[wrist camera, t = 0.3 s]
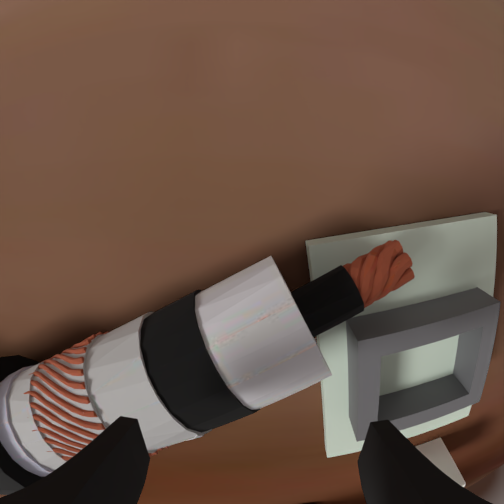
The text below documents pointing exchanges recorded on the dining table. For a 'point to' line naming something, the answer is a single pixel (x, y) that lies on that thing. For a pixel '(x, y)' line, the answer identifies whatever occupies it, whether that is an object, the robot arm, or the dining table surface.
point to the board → (411, 331)
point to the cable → (184, 363)
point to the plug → (441, 459)
